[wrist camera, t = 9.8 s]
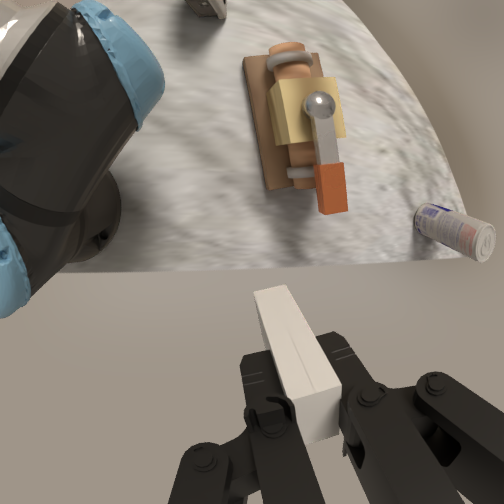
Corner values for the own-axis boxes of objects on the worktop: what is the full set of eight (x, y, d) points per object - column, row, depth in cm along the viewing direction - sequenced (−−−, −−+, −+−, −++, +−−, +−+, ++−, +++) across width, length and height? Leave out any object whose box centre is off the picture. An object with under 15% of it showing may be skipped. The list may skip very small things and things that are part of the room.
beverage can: (417, 239, 44) (477, 271, 30) (409, 212, 42) (473, 238, 28) (437, 223, 43) (498, 249, 29) (430, 196, 42) (494, 217, 28)
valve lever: (341, 207, 30) (349, 210, 28) (316, 211, 30) (323, 215, 28) (326, 93, 26) (334, 89, 24) (299, 94, 26) (305, 90, 24)
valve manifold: (266, 188, 38) (282, 198, 29) (242, 61, 32) (251, 36, 23) (334, 177, 38) (366, 184, 30) (313, 57, 32) (338, 35, 24)
